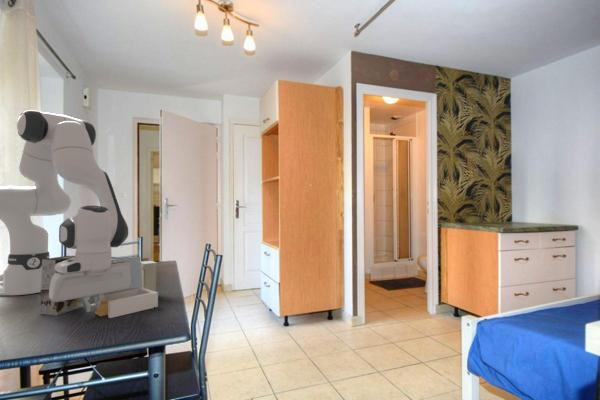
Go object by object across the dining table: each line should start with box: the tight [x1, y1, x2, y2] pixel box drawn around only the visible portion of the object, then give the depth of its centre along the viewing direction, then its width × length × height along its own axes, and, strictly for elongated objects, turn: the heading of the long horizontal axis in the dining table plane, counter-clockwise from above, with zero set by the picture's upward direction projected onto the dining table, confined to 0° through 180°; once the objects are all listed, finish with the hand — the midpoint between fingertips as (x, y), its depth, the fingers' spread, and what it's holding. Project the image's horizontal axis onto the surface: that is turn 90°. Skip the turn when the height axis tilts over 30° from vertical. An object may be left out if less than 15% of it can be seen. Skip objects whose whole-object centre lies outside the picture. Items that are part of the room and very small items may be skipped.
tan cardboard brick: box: [94, 299, 116, 317], centre depth 98 cm, size 4×6×3 cm, turn 142°
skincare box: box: [140, 260, 158, 292], centre depth 116 cm, size 6×4×12 cm
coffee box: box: [39, 255, 84, 316], centre depth 100 cm, size 9×6×16 cm
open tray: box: [94, 287, 159, 319], centre depth 102 cm, size 11×14×4 cm
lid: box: [94, 256, 142, 297], centre depth 106 cm, size 10×14×1 cm
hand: (92, 310), depth 95 cm, fingers closed
